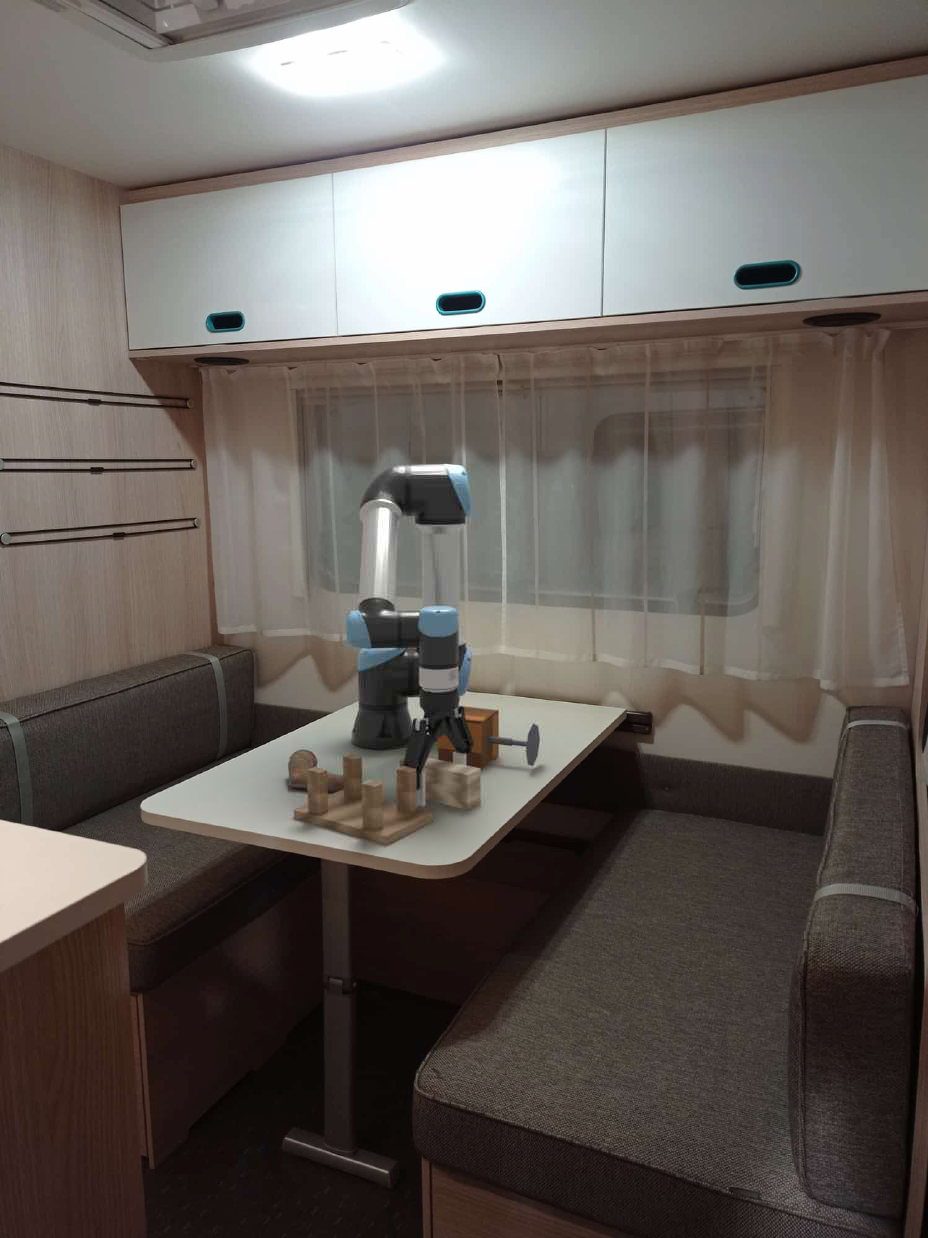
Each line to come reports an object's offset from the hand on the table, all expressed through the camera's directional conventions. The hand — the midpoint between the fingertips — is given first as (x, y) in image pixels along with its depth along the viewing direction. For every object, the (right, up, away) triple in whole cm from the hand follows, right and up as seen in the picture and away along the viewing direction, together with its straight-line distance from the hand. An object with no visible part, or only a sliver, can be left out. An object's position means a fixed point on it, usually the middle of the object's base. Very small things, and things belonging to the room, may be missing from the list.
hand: (439, 794), depth 174 cm
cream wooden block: (0, -1, 0) cm, 1 cm away
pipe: (-25, 0, +8) cm, 26 cm away
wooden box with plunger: (+10, +2, +22) cm, 24 cm away
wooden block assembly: (-14, -2, -11) cm, 18 cm away
